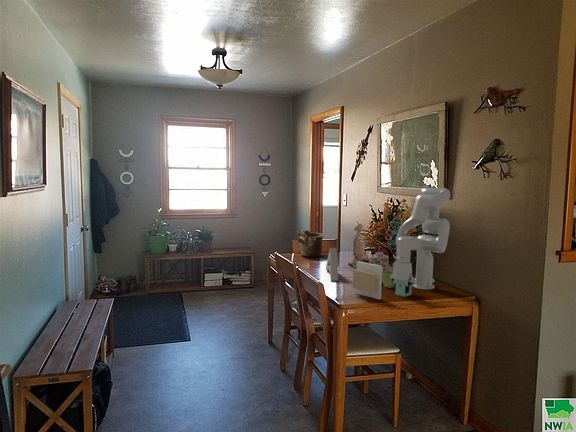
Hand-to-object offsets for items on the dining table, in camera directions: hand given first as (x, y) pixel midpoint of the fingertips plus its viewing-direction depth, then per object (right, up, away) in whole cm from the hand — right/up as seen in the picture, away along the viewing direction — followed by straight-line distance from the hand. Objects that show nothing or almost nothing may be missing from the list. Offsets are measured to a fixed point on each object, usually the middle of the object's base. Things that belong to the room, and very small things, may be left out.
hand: (401, 291), depth 245 cm
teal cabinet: (+2, -2, +3) cm, 4 cm away
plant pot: (-3, -1, +18) cm, 19 cm away
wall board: (-21, -2, -5) cm, 21 cm away
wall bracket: (-35, +3, +45) cm, 57 cm away
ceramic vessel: (-44, +9, +110) cm, 119 cm away
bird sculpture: (-13, +5, +74) cm, 75 cm away
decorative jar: (-6, +1, +33) cm, 34 cm away
